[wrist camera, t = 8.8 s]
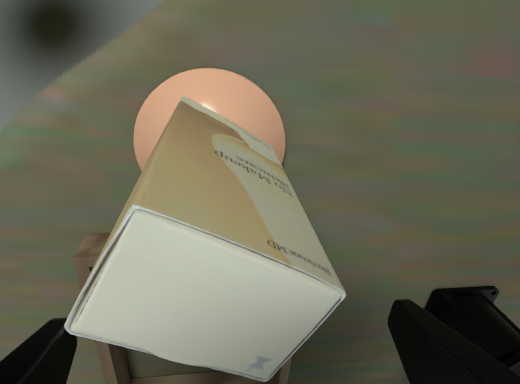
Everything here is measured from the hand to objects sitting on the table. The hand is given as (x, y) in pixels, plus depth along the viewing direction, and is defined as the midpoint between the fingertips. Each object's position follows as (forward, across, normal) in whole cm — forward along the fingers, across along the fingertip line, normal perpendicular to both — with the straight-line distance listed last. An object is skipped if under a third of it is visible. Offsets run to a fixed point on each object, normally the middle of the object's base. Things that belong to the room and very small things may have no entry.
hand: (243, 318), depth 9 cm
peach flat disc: (+13, +1, -1) cm, 13 cm away
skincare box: (+12, +1, -1) cm, 12 cm away
